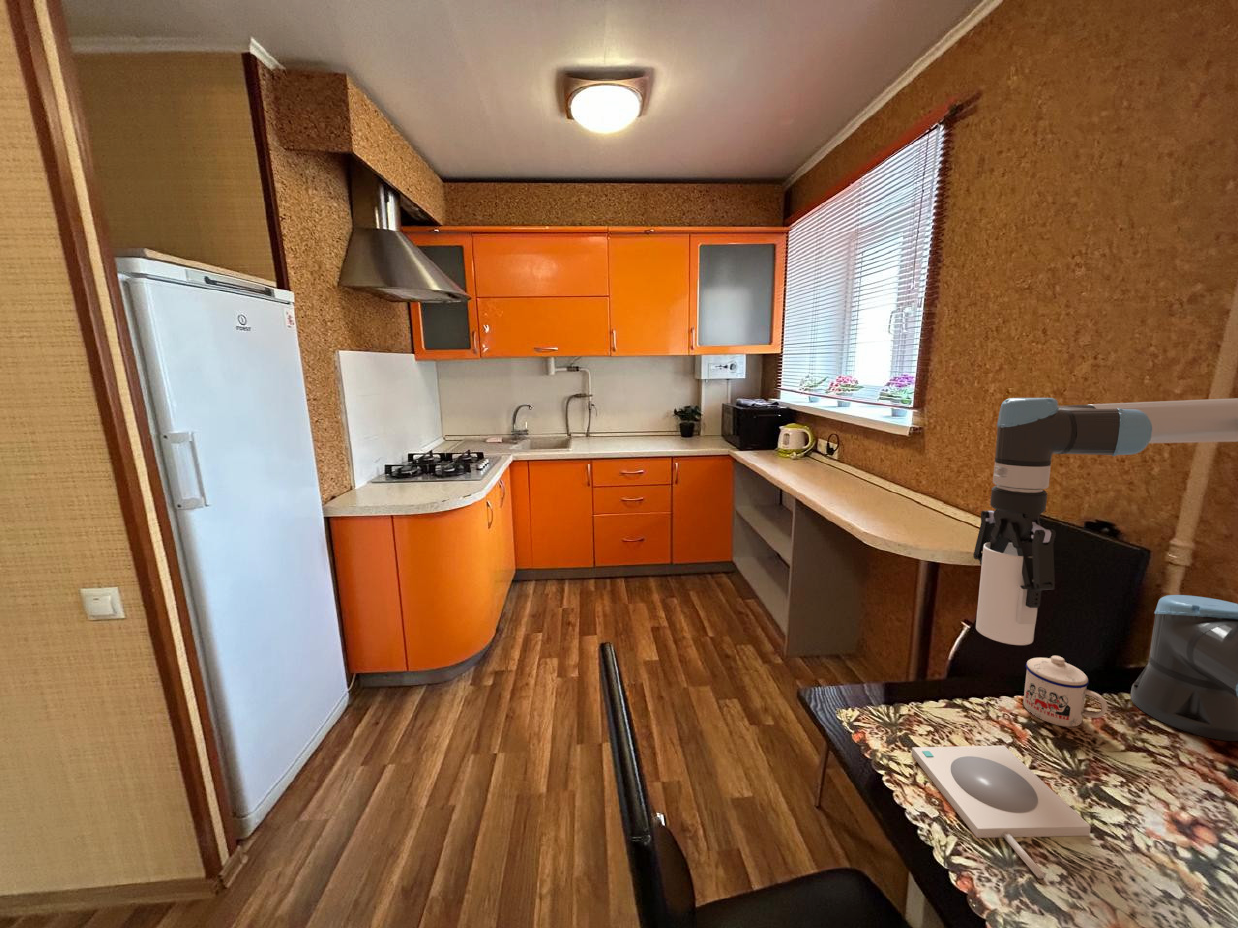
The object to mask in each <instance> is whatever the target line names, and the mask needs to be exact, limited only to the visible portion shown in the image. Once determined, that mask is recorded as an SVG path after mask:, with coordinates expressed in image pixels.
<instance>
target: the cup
mask: <svg viewBox="0 0 1238 928" xmlns="http://www.w3.org/2000/svg"><path fill="white" fill-rule="evenodd" d="M982 553H983V556H982V566H981V565H980V566H981V568H980V569H981V570H980V578H979V579H980V580H979V589H978V600H977V610H976V619H975V620H976V622H975V629H976V631H977V632H978V633H979V634H980V635H982V636H984V637H986V638H988V639H990V640H993V641H996V642H999V643H1002V644H1006V645H1014V646H1027V645H1031V644H1032V643H1033V642H1034V638H1035V628H1036V624H1019V623H1017V622H1016V618H1017V609H1018V599H1019V590H1020V586H1023V585H1024V580H1023V576H1022V565H1023V556H1018V553H1017V549H1016V548H1014V547H1013V544H1012V542H1009V543H1008V545H1007V547H1006V549H1005V551H1004V553H1000V552H996V551H993V550H990V542H988V543H985V544H984V546H983V552H982ZM1030 558H1031V557H1030ZM1032 582H1034V579H1033V580H1032Z"/></svg>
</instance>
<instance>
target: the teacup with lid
mask: <svg viewBox="0 0 1238 928" xmlns="http://www.w3.org/2000/svg"><path fill="white" fill-rule="evenodd" d="M1025 668H1026V674H1025V681H1024V682H1025V683H1024V693H1023V694H1024V695H1023V706H1024V708H1025V709H1026V710H1027V712H1029V713H1030V712H1031V713H1032V714H1031V713H1030V714H1031V715H1033V716H1034V715H1035V716H1034V717H1036V718H1038V719H1039V718H1040V720H1041V719H1042V721H1044V722H1047V723H1048V724H1049V723H1050V724H1052V725H1055V726H1056V725H1057V726H1061V727H1065V728H1067V727H1068V728H1071V727H1077V726H1079V725H1081V724H1082V722H1083V716H1085V717H1088V718H1090V719H1092V718H1093V719H1097V718H1100V717H1101V718H1102V717H1103V716H1104V715H1105V714H1106V713H1107V711H1108V706H1109V705H1108V702H1107V700H1106V699H1105V698H1104V697H1103V696H1101V695H1100V694H1099V693H1098V692H1095V691H1093V690H1090V689H1087V686H1088V685H1089V683H1090V681H1089V678H1088V676H1087V675H1086V674H1085V673H1084V671H1082V670H1081V669H1079V668H1078V667H1076V666H1074V665H1072V664H1070V663H1067V662H1066V660H1065V658H1063V657H1061V656H1060V655H1052V656H1050V657H1049V658H1048V657H1033V658H1030V659H1028V660H1027V662H1026V663H1025ZM1086 695H1087V696H1090V697H1092V698H1094V699H1096V700H1097V701H1098V703H1100V705H1101V708H1100V710H1099V711H1097V712H1092V711H1088V710H1086V709H1085V701H1086ZM1084 709H1085V710H1084Z"/></svg>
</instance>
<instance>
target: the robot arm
mask: <svg viewBox="0 0 1238 928" xmlns="http://www.w3.org/2000/svg"><path fill="white" fill-rule="evenodd" d="M998 411H999V413H998V418H997V423H996V429H997V430H996V441H995V443H996V445H995V457H994V465H993V466H994V468H993V476H992V483H993V484H994V485H995V486H992V488H991V490H990V491H991V492H990V494H991V495H990V502H989V505H990V507H991V508H992V509H994V510H982V511H981V512H980V525H979V530H978V534H977V538H976V542H975V546H974V550H973V559H974V560H978V561H979V565H980V566H982V556H983V546H984V544H985V543H988V542H990V550H993V551H996V552H1000V553H1004V551H1005V549H1006V547H1007V545H1008V543H1010V541H1011V543H1012V544H1013V547H1014V548H1016V549H1017V553H1018V556H1023V565H1022V576H1023V580H1024V585H1023V586H1020V590H1019V599H1018V609H1017V618H1016V622H1017V623H1019V624H1035V625H1036V624H1037V623H1036V622H1037V617H1038V609H1039V608H1040V606H1041V599H1042V592H1043V591H1045V590H1046V591H1051V590H1053V591H1054V590H1055V587H1056V581H1055V579H1056V578H1055V577H1056V576H1055V558H1054V557H1055V556H1054V553H1055V552H1054V543H1055V540H1056V536H1057V533H1056V531H1055V530H1054V529H1046V528H1044V527H1043V526H1041V523H1040V515H1042V514H1043V513H1044V512H1046V509H1047V502H1048V492H1047V491H1046V489H1048V488H1049V487H1050V476H1051V466H1052V459H1053V455H1087V456H1089V455H1091V456H1092V455H1097V456H1098V455H1099V456H1102V455H1103V456H1111V457H1117V456H1125V455H1126V456H1131V455H1136V454H1139V453H1141V452H1142V451H1144V450H1145V449H1147V446H1148V445H1149V444H1180V443H1181V444H1183V443H1187V444H1188V443H1192V444H1193V443H1233V442H1234V443H1235V442H1236V443H1237V442H1238V397H1236V398H1214V399H1212V398H1211V399H1210V398H1209V399H1208V398H1207V399H1187V400H1186V399H1185V400H1166V401H1165V400H1164V401H1162V400H1160V401H1140V402H1139V401H1137V402H1120V403H1119V402H1116V403H1112V402H1111V403H1093V404H1090V403H1089V404H1071V405H1070V404H1068V405H1067V404H1066V405H1065V404H1063V405H1059V402H1058V399H1056V398H1053V397H1009V398H1007V399H1005V400H1004V401H1002V403H1001V405H1000V409H999V410H998ZM1030 557H1031V558H1030ZM1033 579H1034V582H1032V580H1033ZM1153 614H1154V622H1153V627H1152V628H1153V629H1152V636H1151V642H1150V651H1149V656H1148V657H1149V658H1148V662H1147V663H1148V664H1147V665H1146V667H1144V669H1143V671H1142V672H1141V673H1139V676H1138V677H1137V679H1136V680H1135V681H1134V683H1132V685H1131V690H1130V700H1131V702H1132V703H1133V704H1134V705H1135V706H1136V707H1137V708H1138V709H1140V710H1141V711H1142V712H1143V713H1145V714H1147V715H1148V716H1150V717H1152V718H1153V719H1156V721H1159V722H1161V723H1164V724H1165V725H1168V726H1170V727H1173V728H1174V729H1178V730H1181V731H1184V732H1187V733H1189V734H1193V735H1195V736H1199V737H1204V738H1209V739H1213V740H1220V741H1224V742H1225V741H1228V742H1238V603H1235V602H1230V601H1227V600H1222V599H1216V598H1211V597H1203V596H1197V595H1186V594H1167V595H1165V596H1162V597H1160V599H1158V602H1157V605H1156V608H1155V610H1154V613H1153Z"/></svg>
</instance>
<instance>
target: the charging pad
mask: <svg viewBox="0 0 1238 928" xmlns="http://www.w3.org/2000/svg"><path fill="white" fill-rule="evenodd" d="M911 756H912V757H913V759H914V761H916V763H918V764H917V765H919V766H920V768H921V769H922V770H923V772H924V773H925V774H926V775H927V776H928V778H929V780H931V782H932V783H933V785H934V786H935V787H936V788H937V789H938V791H939V792H940V793H941V794H942V796H943V797H944V799H946V800H947V802H948V803H949V805H950V806H951V807H952V808H953V810H954V811H955V812H956V813H957V814H958V816H959V817H960V819H961V820H962V821H963V822H964V824H966V826H967V827H968V828H969V830H970V831H971V833H973V835H974V836H975V838H977V839H978V838H979V839H984V838H985V839H987V838H1004V840H1005V841H1006V842H1007V843H1008V845H1010V847H1011V848H1012V849H1013V850H1014V852H1015V853H1016V854H1017V856H1019V857H1020V859H1021V860H1022V861H1023V862H1024V863H1025V865H1026V866H1027V867H1028V868H1029V870H1030V871H1031V872H1032V873H1033V874H1034V875H1035V877H1037V879H1039V880H1042V879H1044V878H1045V876H1046V874H1045V873H1044V872H1043V870H1042V869H1041V868H1040V867H1039V866H1038V865H1037V863H1036V862H1035V861H1034V860H1033V859H1032V858H1031V856H1029V855H1028V853H1027V852H1026V851H1025V850H1024V848H1023V847H1021V845H1020V844H1019V843H1018V841H1017V840H1016V839H1015V838H1030V837H1031V838H1032V837H1036V838H1037V837H1044V838H1045V837H1086V836H1090V834H1091V825H1090V824H1089V823H1088V822H1087V821H1085V819H1084V818H1082V817H1081V816H1080V815H1079V814H1078V813H1077V812H1076V811H1075V810H1074V809H1073V808H1072V807H1071V806H1069V805H1068V803H1067V802H1065V801H1064V800H1063V798H1061V797H1060V796H1059V795H1058V794H1057V793H1056V792H1055V791H1054V790H1052V789H1051V788H1050V786H1048V785H1047V784H1046V783H1045V782H1044V781H1042V779H1041V778H1040V777H1039V776H1037V774H1035V773H1034V772H1033V771H1032V770H1031V769H1030V768H1029V767H1028V766H1026V764H1024V762H1023V761H1021V759H1019V758H1018V757H1017V756H1016V755H1015V754H1014V753H1013V752H1012V751H1011V750H1010V749H1008V747H1006V746H1005V745H966V746H965V745H963V746H962V745H961V746H922V747H921V746H918V747H917V746H916V747H913V746H912V747H911Z"/></svg>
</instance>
